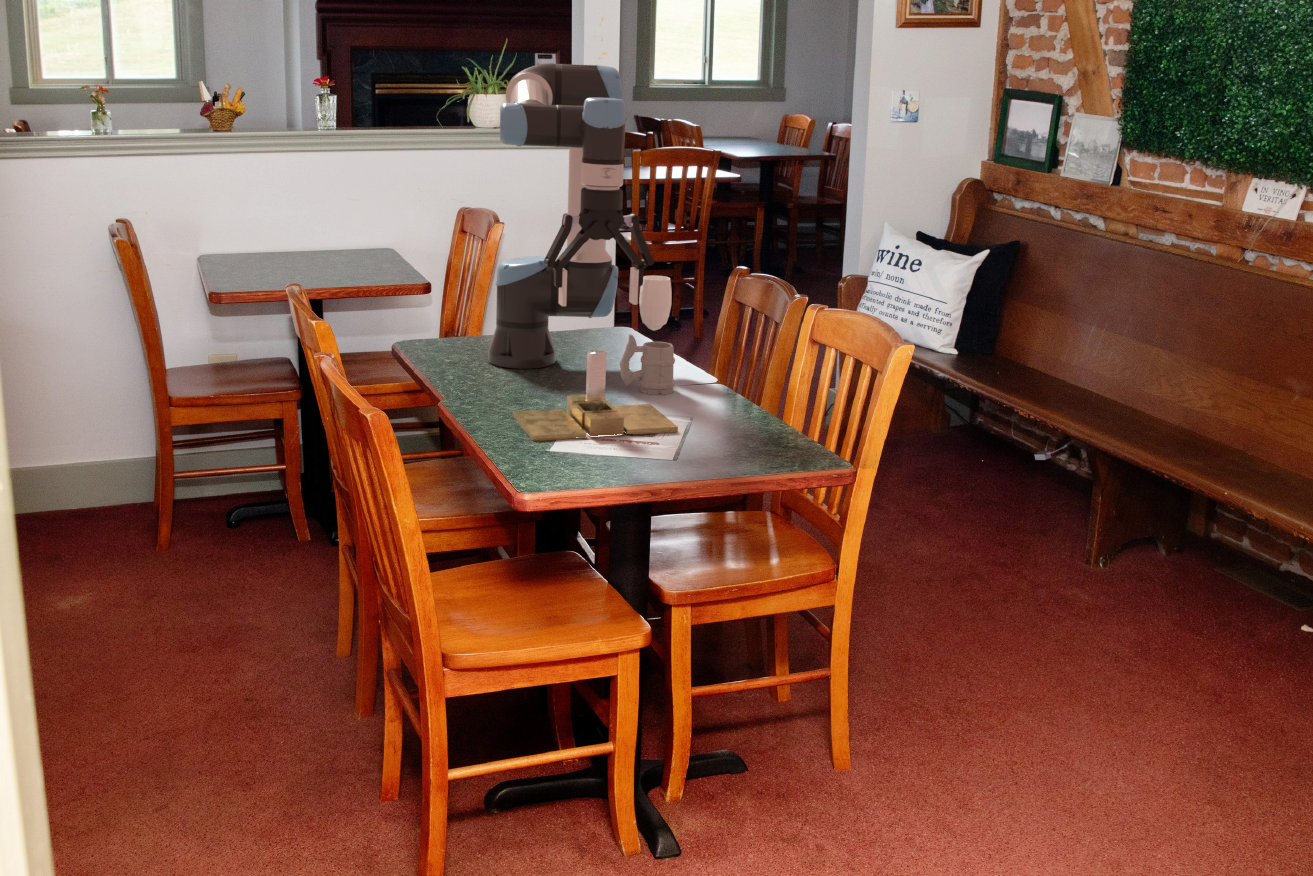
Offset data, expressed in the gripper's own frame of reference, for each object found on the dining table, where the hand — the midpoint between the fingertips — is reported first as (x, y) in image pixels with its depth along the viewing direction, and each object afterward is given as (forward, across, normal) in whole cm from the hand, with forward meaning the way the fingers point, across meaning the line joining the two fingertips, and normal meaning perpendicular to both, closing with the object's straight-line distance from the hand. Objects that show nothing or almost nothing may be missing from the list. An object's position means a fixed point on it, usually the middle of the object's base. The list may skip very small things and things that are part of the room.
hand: (598, 304), depth 228 cm
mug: (+24, +18, +22) cm, 37 cm away
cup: (+24, +25, +39) cm, 52 cm away
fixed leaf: (+23, -5, 0) cm, 24 cm away
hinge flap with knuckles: (+23, +5, -1) cm, 23 cm away
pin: (+23, 0, 0) cm, 23 cm away
